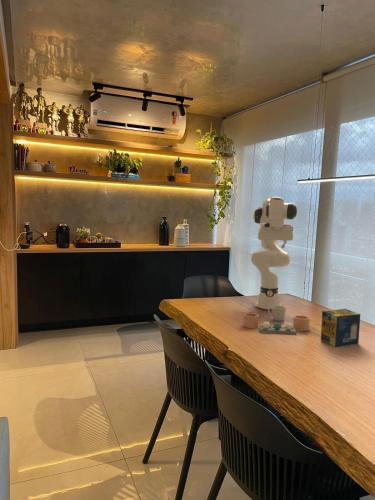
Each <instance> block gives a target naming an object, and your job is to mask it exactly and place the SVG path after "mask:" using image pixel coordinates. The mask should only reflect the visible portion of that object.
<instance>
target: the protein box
mask: <svg viewBox="0 0 375 500" xmlns="http://www.w3.org/2000/svg"><path fill="white" fill-rule="evenodd" d="M321 312H322V313H321V325H320V326H321V330H320V341H322V342H323V343H326V344H328V345H330V346H332V347H333V348H334V347H335V348H336V347H343V346H350V345H351V344H353V345H358V344H359V339H360V338H359V337H360V327H361V324H360V323H361V313H358V312H356V311H352V310H350V309H347V308H339V309H330V310H329V309H328V310H322V311H321ZM357 343H358V344H357Z"/></svg>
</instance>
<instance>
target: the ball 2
mask: <svg viewBox="0 0 375 500" xmlns="http://www.w3.org/2000/svg"><path fill="white" fill-rule="evenodd" d="M273 326H274V328H275V329H277V330H278V329H280V328H281V327H282V324H281V322H280V321H276V322H274V324H273Z"/></svg>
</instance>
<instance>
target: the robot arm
mask: <svg viewBox="0 0 375 500" xmlns="http://www.w3.org/2000/svg"><path fill="white" fill-rule="evenodd" d="M297 213H298V208H297V205H295V203H294V202H289V203H288V202H284V198H283V197H282V196H272V197H268V198H267V199H265V200H264V201H263V202H262V207H260V206H258V208H257V209H255V210H254V212H253V216H252V219H253V221H254V223H255V224H259V227H260V228H259V230H258V233H257V239H258V240H259V241H260V243H261V247H262V249H263V250H259V251H254V252H253V253H252V254H251V257H250V260H251V264H252V265H253V267H256V269H257V270H258V272H259V274H260V280H261V281H260V284H261V285H260V288H259V289H260V290H259V291H260V293H258V295H257V296H256V299H257V300H256V302H255V304H254V307H256V308H259V309H263V310H268V309H269V308H272V307H273V306H282V305H281V296H280V294H279V286H278V285H279V282H278V280H279V277H278V275H277V274H276V273H275V272H273V271H271V270H270V268H284V267H285V268H286V267H287V266H288V265H289V264H290V261H291V259H290V258H291V257H290V254H289V253H288V252H286V251H284V250H283V249H285V248H286V247H285V246H286V245H287V241H293V239H294V234H293V233H294V232H293V231H294V226H293V225H291V224H285V223H284V221H285V220H289V221H290V220H293V219H295V218H296V216H297ZM278 241H283V244H281V246H280V245H279V242H278Z"/></svg>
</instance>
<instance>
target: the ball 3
mask: <svg viewBox="0 0 375 500" xmlns="http://www.w3.org/2000/svg"><path fill="white" fill-rule="evenodd" d="M284 327H285V328H286V329H287V330H291V329H292V327H293V324H292V323H290V322H286V323H285V324H284Z"/></svg>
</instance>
